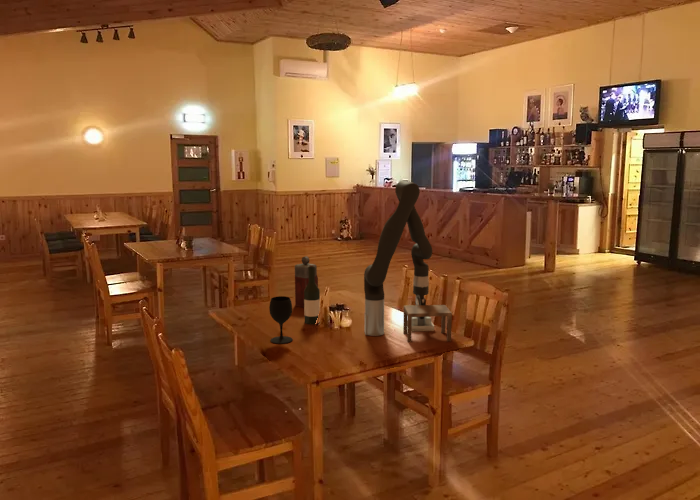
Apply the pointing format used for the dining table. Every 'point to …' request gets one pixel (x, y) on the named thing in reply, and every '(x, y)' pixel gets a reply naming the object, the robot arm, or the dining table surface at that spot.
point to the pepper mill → (302, 280)
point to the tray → (422, 324)
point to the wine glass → (280, 316)
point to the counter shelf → (427, 312)
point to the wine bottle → (311, 298)
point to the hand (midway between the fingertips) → (420, 316)
